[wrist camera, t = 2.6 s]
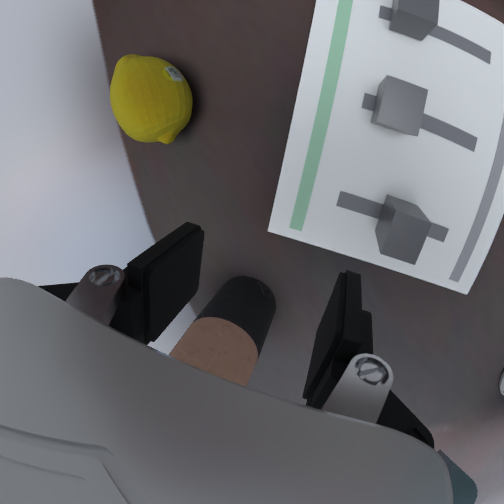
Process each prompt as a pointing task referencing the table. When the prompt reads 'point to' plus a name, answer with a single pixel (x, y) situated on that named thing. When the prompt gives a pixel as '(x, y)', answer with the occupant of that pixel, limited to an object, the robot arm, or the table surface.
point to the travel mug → (229, 331)
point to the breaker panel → (397, 138)
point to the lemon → (150, 98)
